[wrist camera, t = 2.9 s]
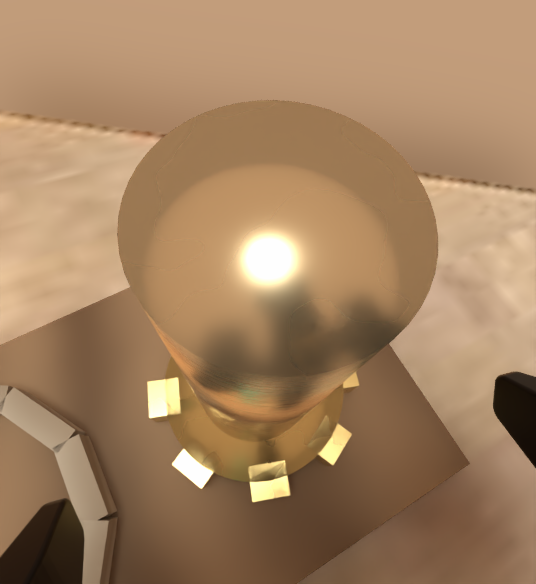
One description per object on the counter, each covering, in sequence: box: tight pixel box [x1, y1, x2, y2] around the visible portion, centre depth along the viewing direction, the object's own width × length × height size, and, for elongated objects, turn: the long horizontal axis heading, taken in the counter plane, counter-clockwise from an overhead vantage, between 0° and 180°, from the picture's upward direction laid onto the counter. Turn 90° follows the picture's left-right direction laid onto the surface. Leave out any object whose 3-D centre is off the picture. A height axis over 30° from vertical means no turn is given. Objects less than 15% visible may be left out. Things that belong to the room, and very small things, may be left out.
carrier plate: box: [0, 287, 470, 584], centre depth 17 cm, size 26×14×2 cm, turn 119°
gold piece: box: [117, 100, 438, 502], centre depth 12 cm, size 8×8×14 cm
